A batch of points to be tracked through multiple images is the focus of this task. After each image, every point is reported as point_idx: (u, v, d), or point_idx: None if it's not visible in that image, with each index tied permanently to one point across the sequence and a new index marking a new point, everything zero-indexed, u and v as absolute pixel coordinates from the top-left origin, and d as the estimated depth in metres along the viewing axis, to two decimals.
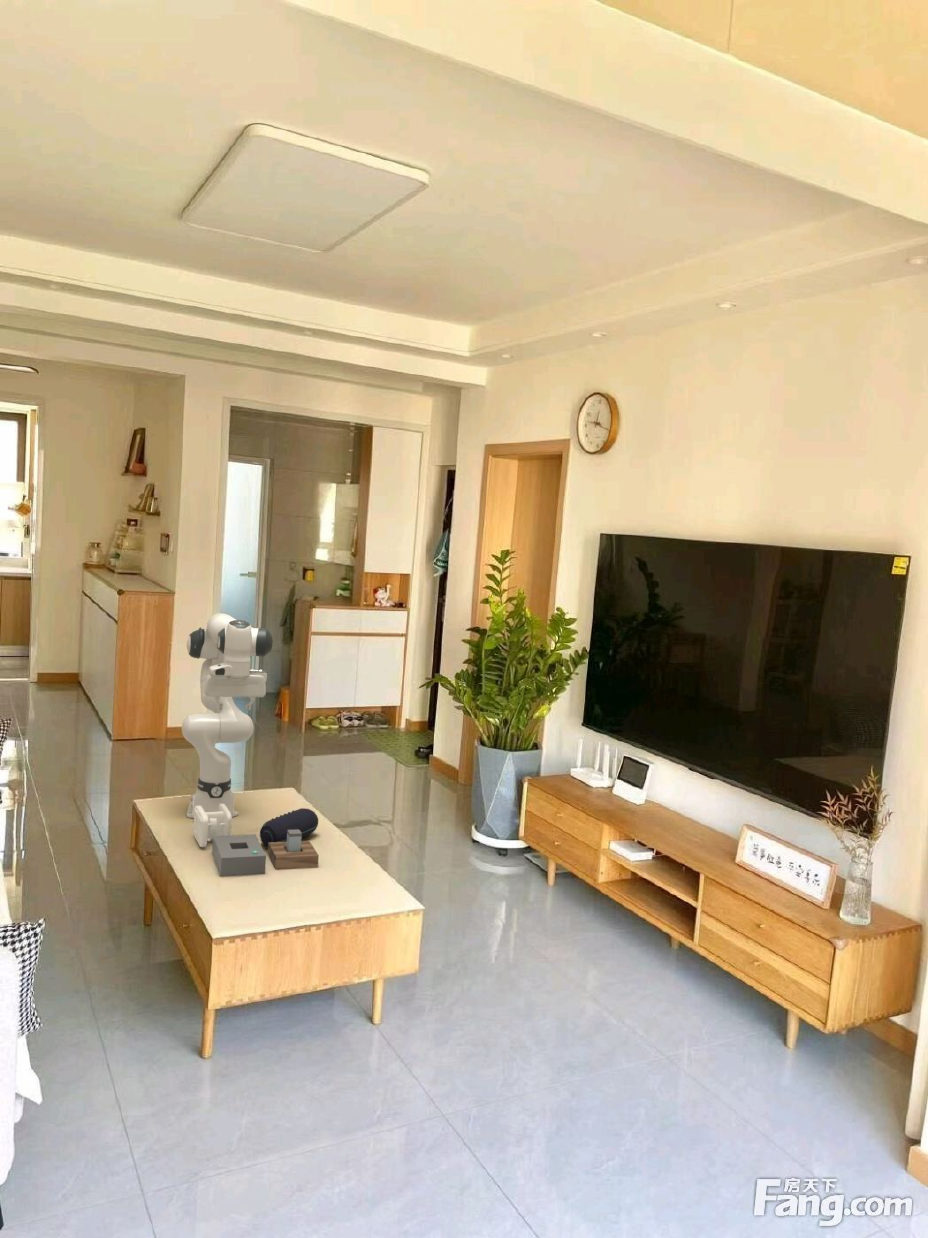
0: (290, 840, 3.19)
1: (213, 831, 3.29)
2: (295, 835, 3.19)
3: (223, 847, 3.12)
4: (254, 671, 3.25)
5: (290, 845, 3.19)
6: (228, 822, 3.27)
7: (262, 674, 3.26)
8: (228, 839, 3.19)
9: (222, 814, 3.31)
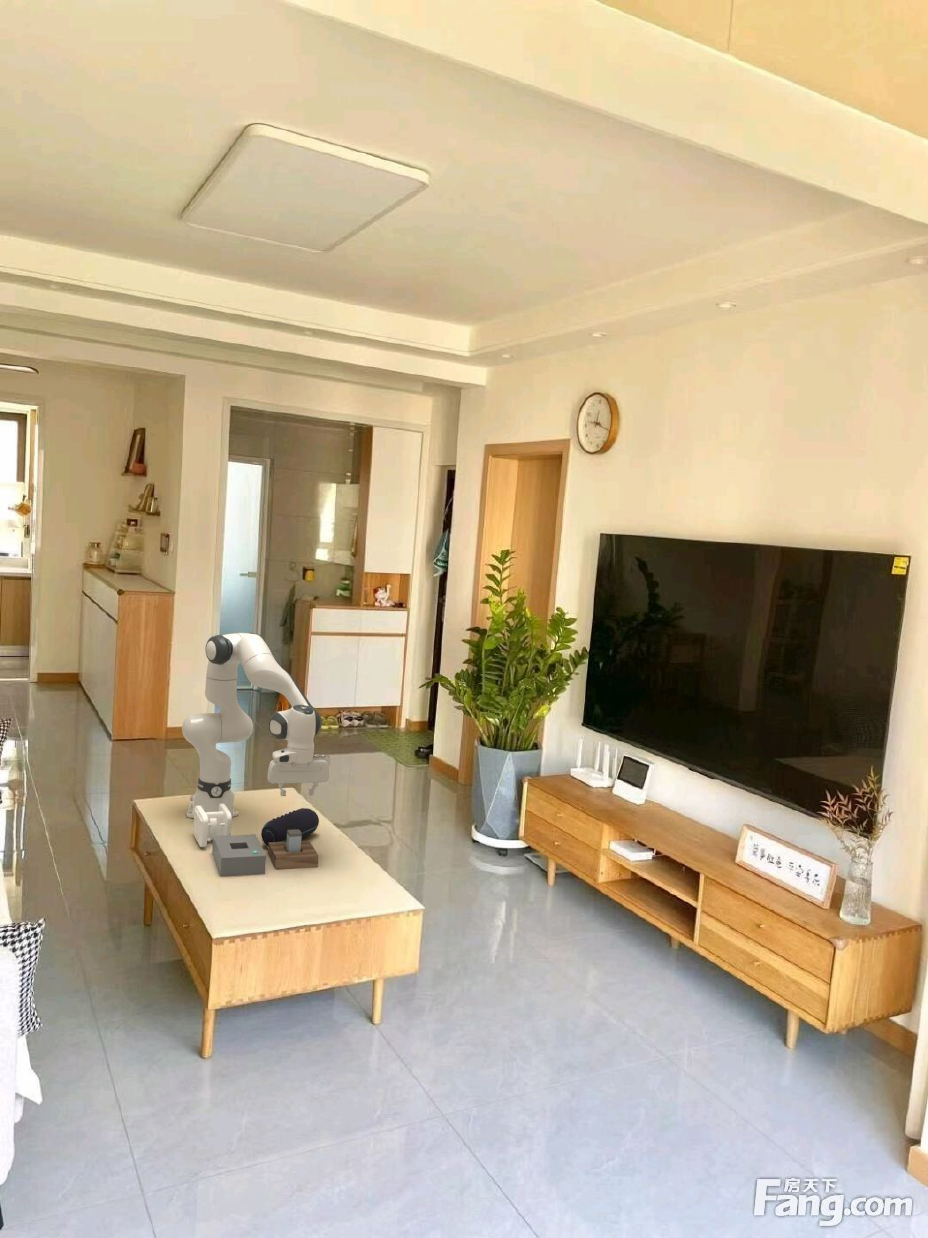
0: (290, 840, 3.19)
1: (213, 831, 3.29)
2: (295, 835, 3.19)
3: (223, 847, 3.12)
4: (317, 756, 3.20)
5: (290, 845, 3.19)
6: (228, 822, 3.27)
7: (325, 759, 3.21)
8: (228, 839, 3.19)
9: (222, 814, 3.31)
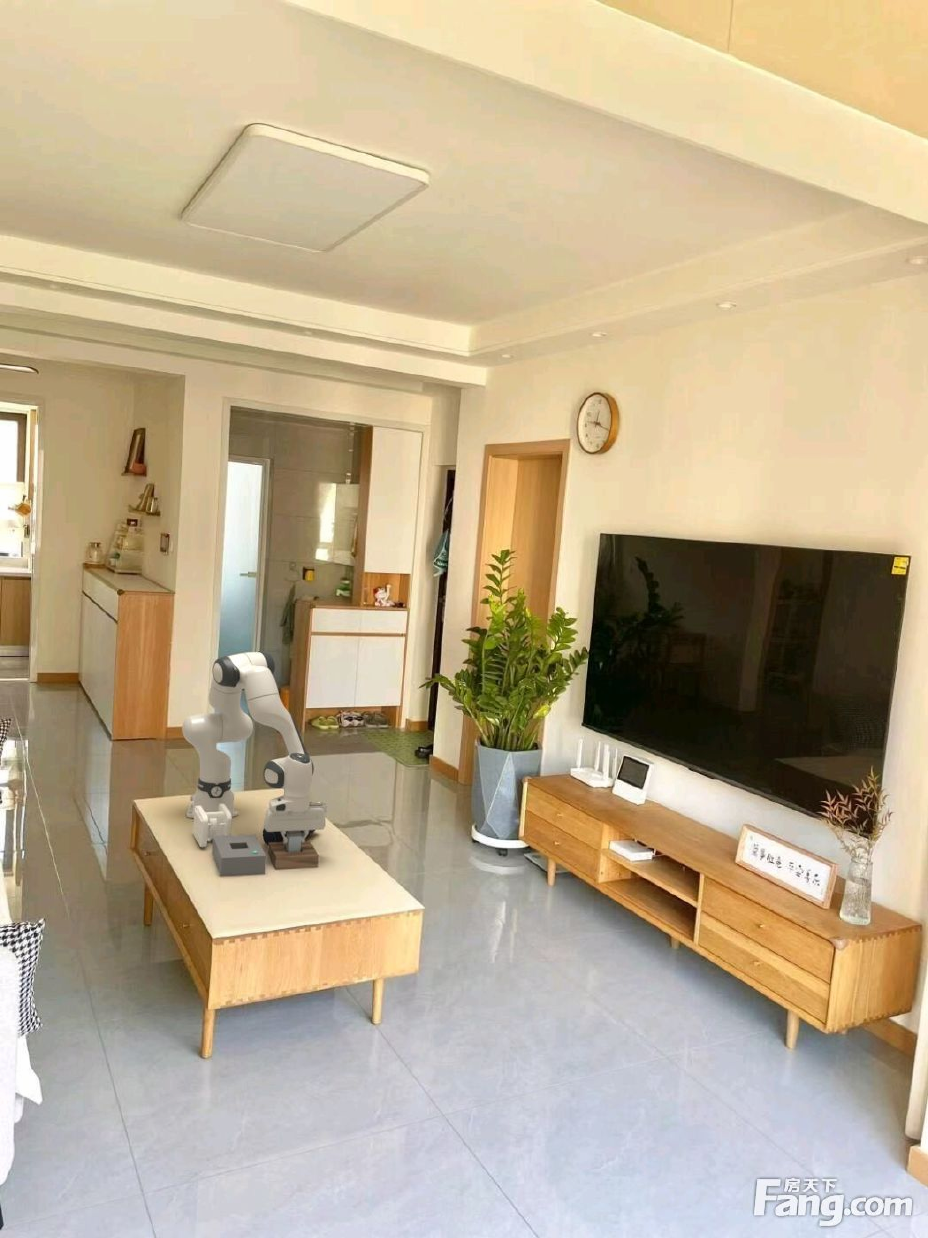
0: (290, 840, 3.19)
1: (213, 831, 3.29)
2: (295, 835, 3.19)
3: (223, 847, 3.12)
4: (314, 804, 3.21)
5: (290, 845, 3.19)
6: (228, 822, 3.27)
7: (322, 806, 3.23)
8: (228, 839, 3.19)
9: (222, 814, 3.31)
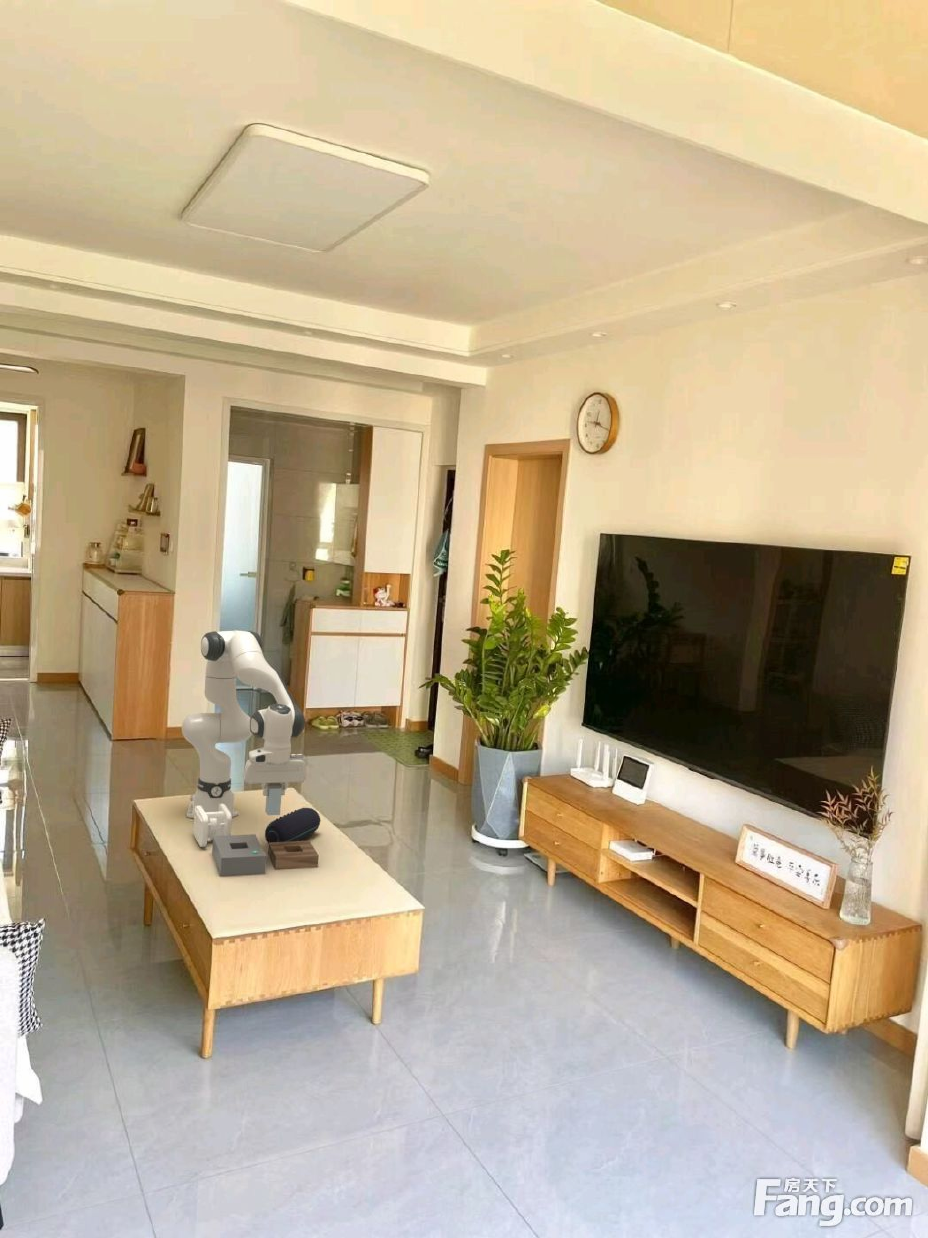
0: (270, 792, 3.14)
1: (213, 831, 3.29)
2: (275, 787, 3.14)
3: (223, 847, 3.12)
4: (294, 756, 3.17)
5: (270, 797, 3.14)
6: (228, 822, 3.27)
7: (302, 758, 3.18)
8: (228, 839, 3.19)
9: (222, 814, 3.31)
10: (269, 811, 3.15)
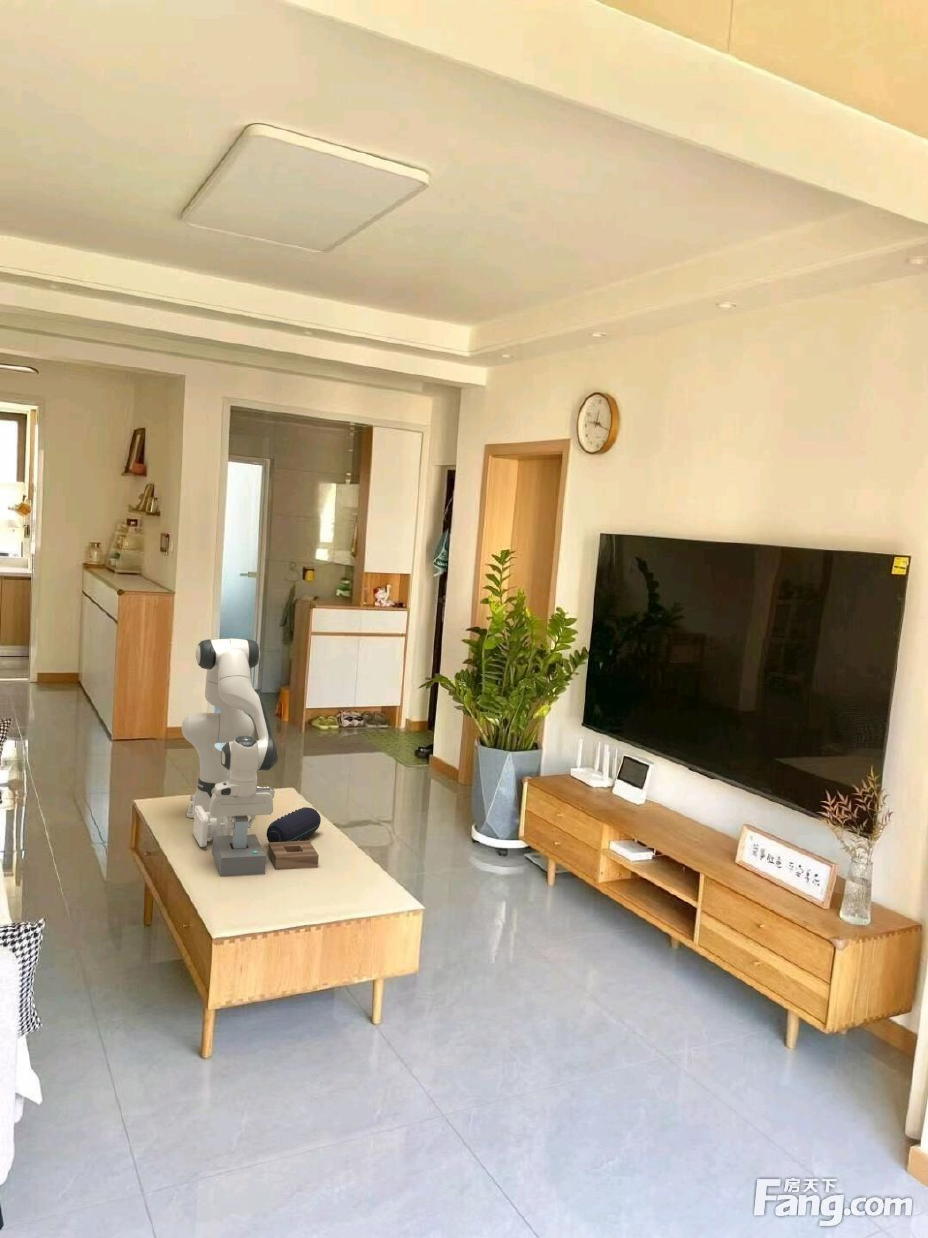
0: (236, 825, 3.11)
1: (213, 831, 3.29)
2: (241, 820, 3.11)
3: (223, 847, 3.12)
4: (261, 788, 3.14)
5: (236, 831, 3.11)
6: (228, 822, 3.27)
7: (269, 791, 3.15)
8: (228, 839, 3.19)
9: None
10: (235, 844, 3.12)
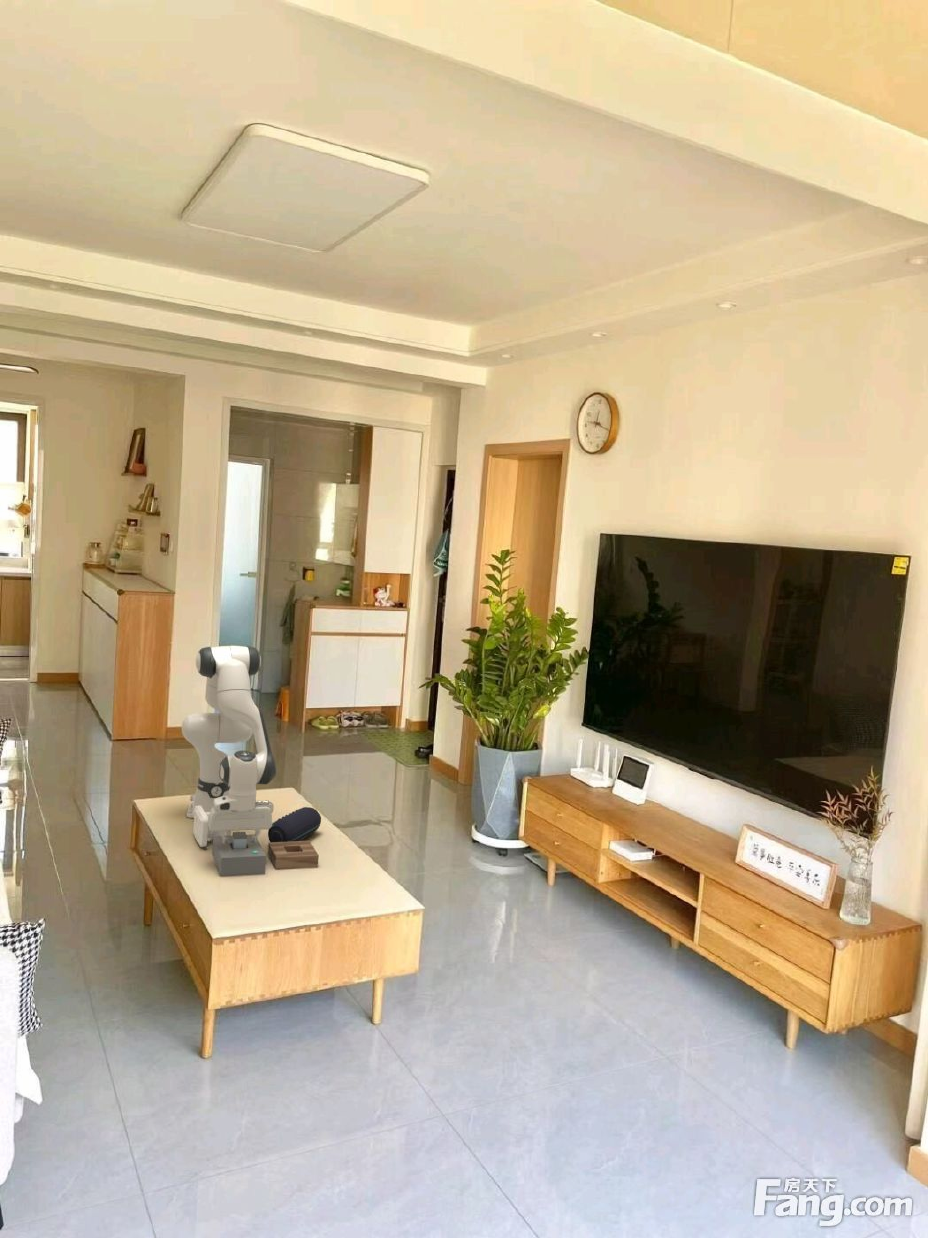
0: (235, 843, 3.12)
1: (213, 831, 3.29)
2: (240, 837, 3.12)
3: (223, 847, 3.12)
4: (260, 803, 3.15)
5: (235, 848, 3.12)
6: None
7: (268, 805, 3.16)
8: (228, 839, 3.19)
9: None
10: None
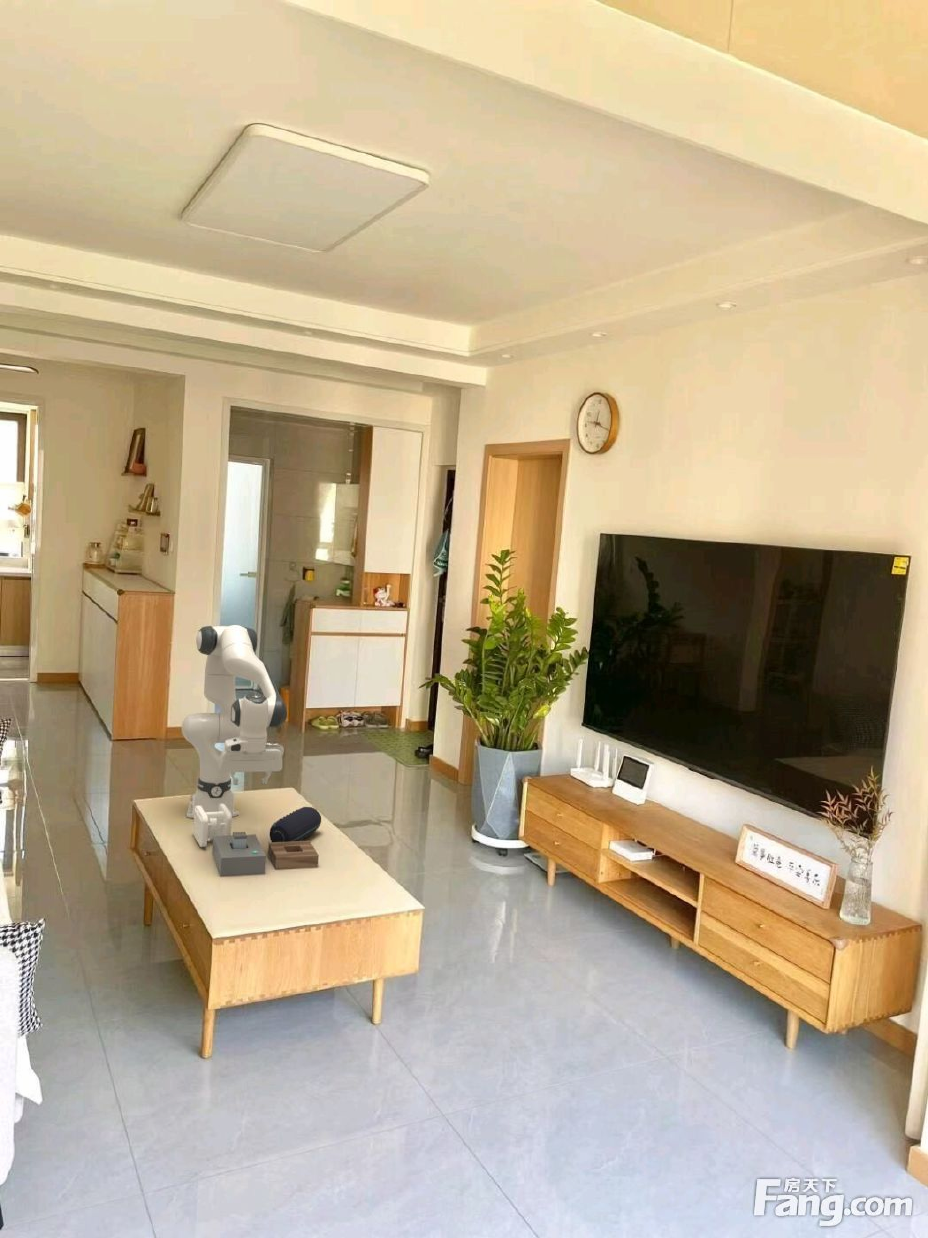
0: (235, 843, 3.12)
1: (213, 831, 3.29)
2: (240, 837, 3.12)
3: (223, 847, 3.12)
4: (270, 745, 3.17)
5: (235, 848, 3.12)
6: (228, 822, 3.27)
7: (279, 748, 3.18)
8: (228, 839, 3.19)
9: (222, 814, 3.31)
10: None
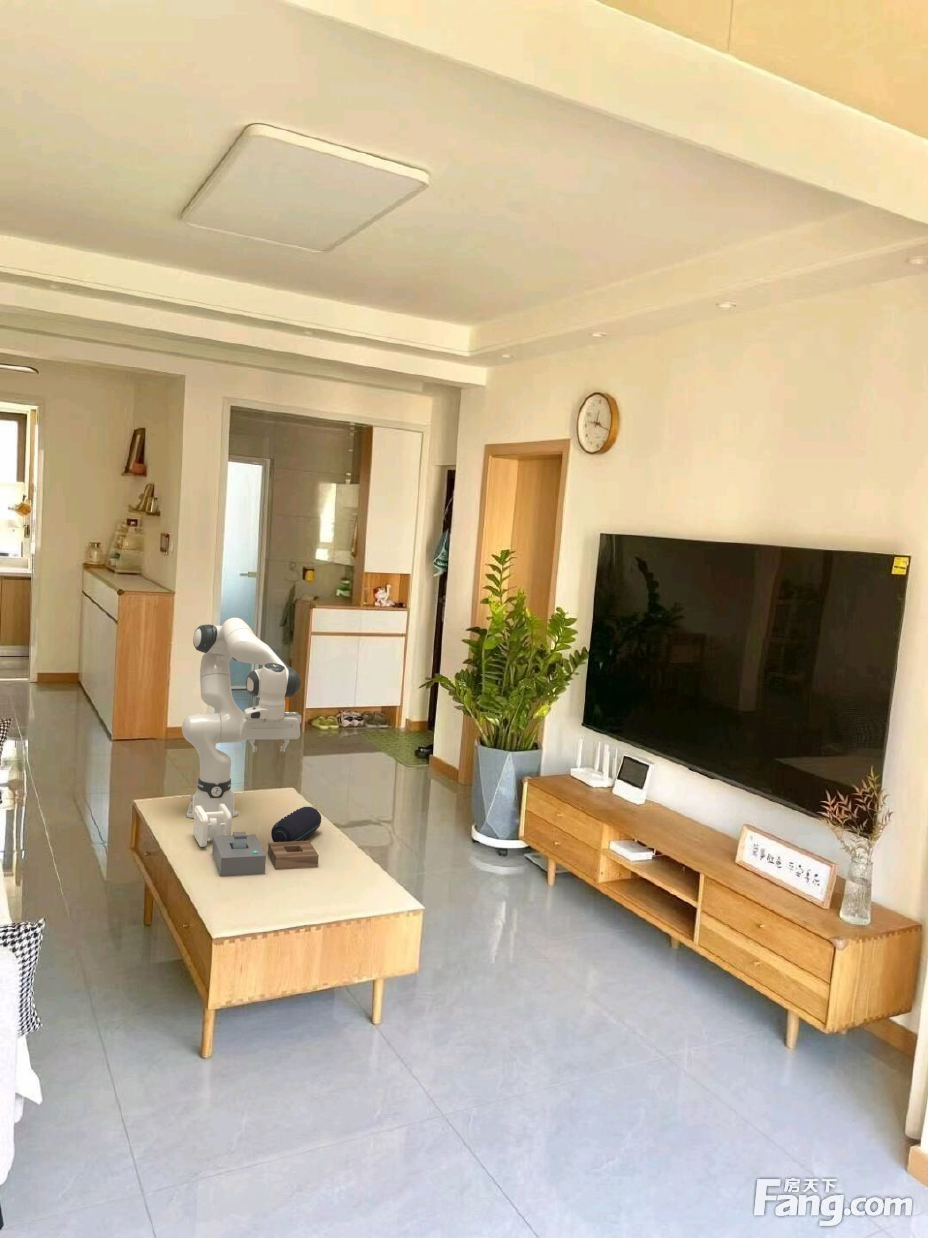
0: (235, 843, 3.12)
1: (213, 831, 3.29)
2: (240, 837, 3.12)
3: (223, 847, 3.12)
4: (289, 714, 3.26)
5: (235, 848, 3.12)
6: (228, 822, 3.27)
7: (296, 716, 3.28)
8: (228, 839, 3.19)
9: (222, 814, 3.31)
10: None
